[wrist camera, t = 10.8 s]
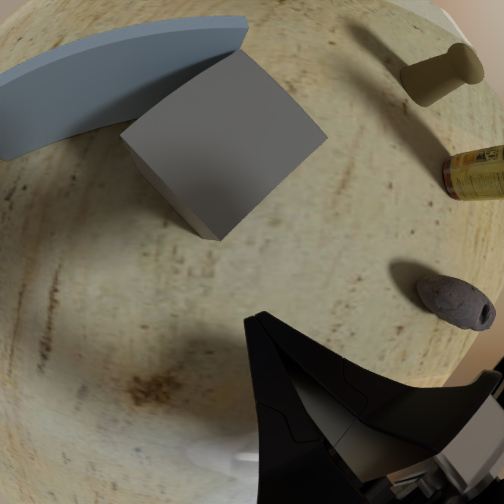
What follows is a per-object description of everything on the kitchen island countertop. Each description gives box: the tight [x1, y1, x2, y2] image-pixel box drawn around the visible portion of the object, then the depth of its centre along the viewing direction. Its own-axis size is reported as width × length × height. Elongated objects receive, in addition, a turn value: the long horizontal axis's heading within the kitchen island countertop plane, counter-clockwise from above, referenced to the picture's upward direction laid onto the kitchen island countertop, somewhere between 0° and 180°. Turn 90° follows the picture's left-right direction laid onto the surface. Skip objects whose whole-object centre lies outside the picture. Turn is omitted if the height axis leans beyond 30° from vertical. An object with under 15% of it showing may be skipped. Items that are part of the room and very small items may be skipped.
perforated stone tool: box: [416, 275, 496, 331], centre depth 25 cm, size 15×5×7 cm, turn 66°
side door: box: [0, 16, 249, 162], centre depth 13 cm, size 1×19×10 cm, turn 101°
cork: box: [400, 43, 484, 107], centre depth 21 cm, size 6×6×11 cm
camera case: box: [120, 50, 328, 241], centre depth 16 cm, size 7×8×8 cm
